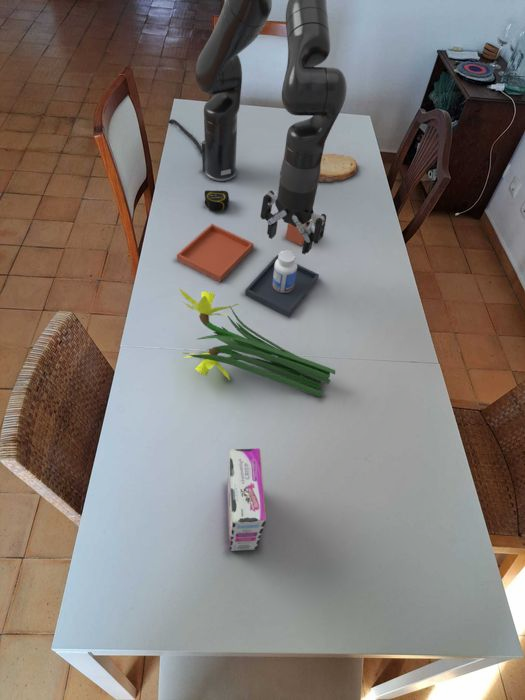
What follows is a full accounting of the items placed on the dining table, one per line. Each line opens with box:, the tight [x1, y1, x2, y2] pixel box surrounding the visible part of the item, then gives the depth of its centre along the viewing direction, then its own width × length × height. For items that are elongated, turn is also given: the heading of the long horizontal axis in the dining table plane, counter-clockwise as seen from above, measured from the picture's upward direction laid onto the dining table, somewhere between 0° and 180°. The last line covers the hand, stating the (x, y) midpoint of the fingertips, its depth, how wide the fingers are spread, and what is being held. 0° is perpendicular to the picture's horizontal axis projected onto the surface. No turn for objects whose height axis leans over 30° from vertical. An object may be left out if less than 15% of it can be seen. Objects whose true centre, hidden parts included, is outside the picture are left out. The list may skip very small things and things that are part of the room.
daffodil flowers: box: [178, 287, 336, 398], centre depth 92 cm, size 17×15×35 cm
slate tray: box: [244, 254, 320, 318], centre depth 112 cm, size 12×15×2 cm
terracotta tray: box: [176, 223, 254, 283], centre depth 117 cm, size 13×15×2 cm
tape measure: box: [204, 190, 230, 212], centre depth 128 cm, size 7×7×4 cm
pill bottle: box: [273, 249, 298, 293], centre depth 108 cm, size 6×5×10 cm
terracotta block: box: [285, 220, 314, 247], centre depth 122 cm, size 5×5×5 cm
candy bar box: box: [226, 447, 267, 552], centre depth 72 cm, size 11×5×16 cm, turn 5°
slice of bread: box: [318, 153, 358, 183], centre depth 144 cm, size 18×18×4 cm
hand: (288, 244), depth 102 cm, fingers open, 8 cm apart
